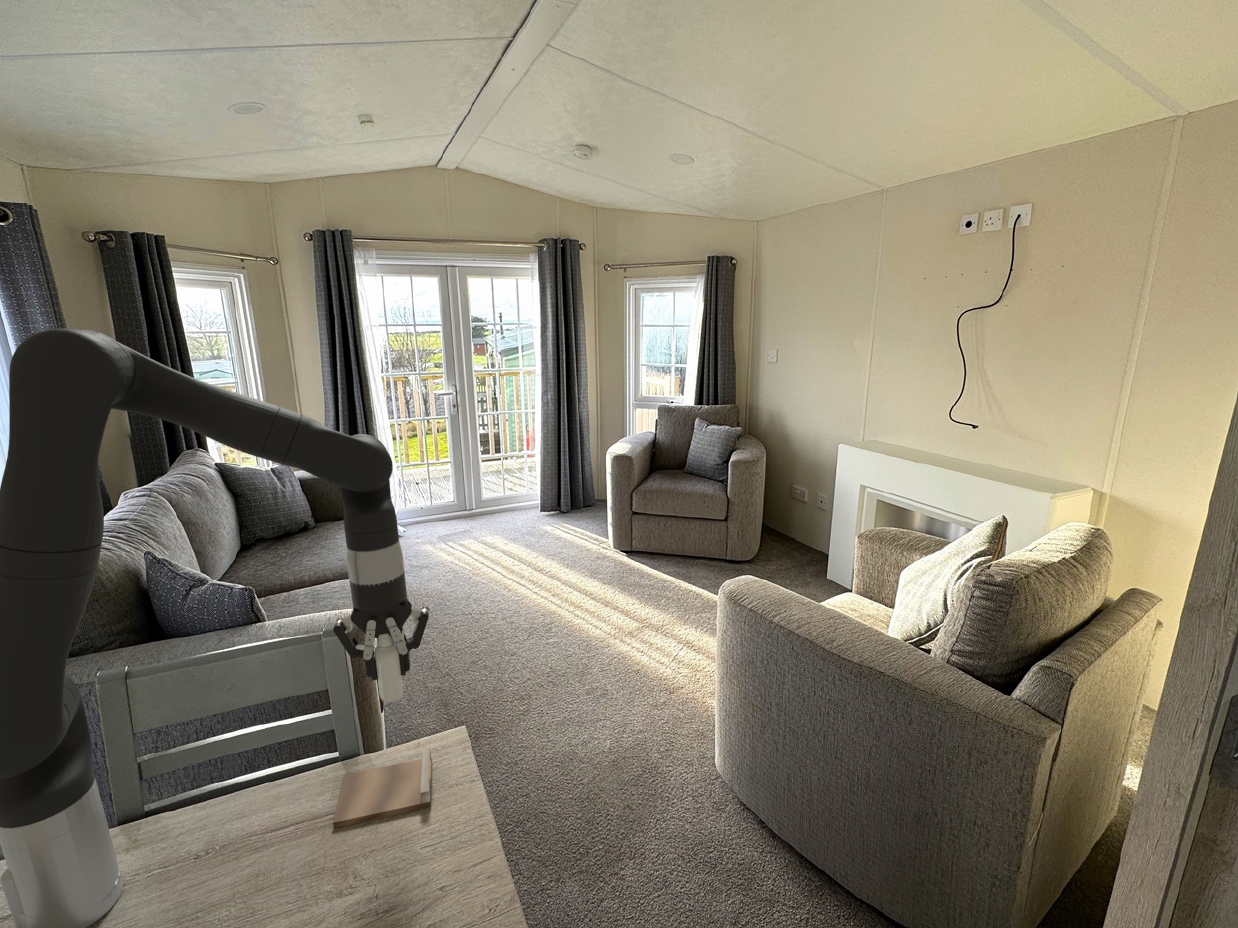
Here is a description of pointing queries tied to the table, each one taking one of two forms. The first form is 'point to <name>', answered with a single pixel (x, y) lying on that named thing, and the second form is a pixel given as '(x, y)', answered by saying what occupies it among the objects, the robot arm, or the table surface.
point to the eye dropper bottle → (388, 669)
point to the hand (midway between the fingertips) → (389, 674)
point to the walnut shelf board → (384, 791)
